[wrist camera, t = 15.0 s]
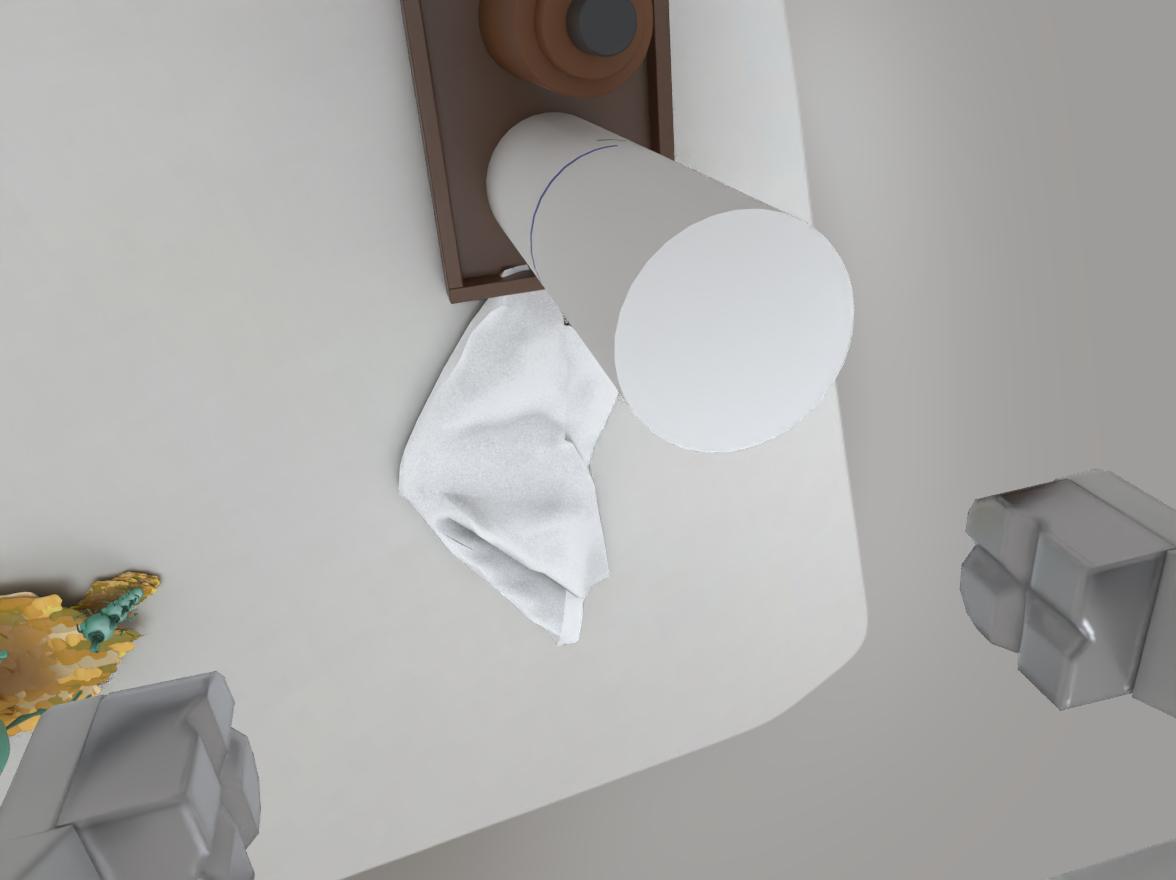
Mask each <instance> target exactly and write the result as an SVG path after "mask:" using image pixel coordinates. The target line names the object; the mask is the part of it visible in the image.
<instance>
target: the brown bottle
mask: <svg viewBox="0 0 1176 880" xmlns="http://www.w3.org/2000/svg"><path fill="white" fill-rule="evenodd" d="M478 17H479V27H480V33H481V36H482V39H483V42H484V44H485V47H486V49H487V50H488V52H489V54H490V55H491V57H492V58H493V59H494V61H495V62H496V63H497V64H498V65H499V66H500V67H501V68H502V69H504V70H505V71H506V72H508V73H510V74H511V75H513V76H515V77H518V78H520V79H523V80H525V81H528V82H530V83H533V84H535V85H538V86H540V87H543V88H546V89H548V90H551V91H553V92H556V93H558V94H561V95H563V96H567V97H571V98H579V99H587V98H595V97H599V96H602V95H605V94H608V93H610V92H612V91H614V90H616V89H617V88H619V87H620V86H622V85H623V84H624V83H625V82H626V81H628V80H629V79H630V78H631V77H632V75H633V74H634V73H635V72H636V71H637V69H638V68H639V66H640V65H641V63H642V61H643V59H644V57H645V55H646V53H647V50H648V48H649V45H650V41H651V37H652V30H653V7H652V1H651V0H480V4H479V15H478Z"/></svg>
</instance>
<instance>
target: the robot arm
mask: <svg viewBox="0 0 1176 880" xmlns="http://www.w3.org/2000/svg"><path fill="white" fill-rule="evenodd" d="M966 533H967V534H968V535H969V537H970V538H971V539H972V541H973V542H974V543H975V547H974V548H973V549H972V551H971V552H970V553H969V555H968V556H967V558H966V559H965V560H964V562H963V563H962V566H961V567H962V568H961V580H960V591H961V595H962V598H963V602H964V605H965V608H966V612H967V614H968V615H969V617H970V619H971V620H972V622H973V624H974V625H975V626H976V628H977V629H978V630H979V631H980V632H981V634H982V635H984V637H985V638H986V639H987V640H988V641H989V642H990V643H992V644H994V645H997V646H1000V647H1002V648H1005V649H1008V650H1010V651H1013V652H1015V653H1017V665H1018V670H1019V671H1020V672H1021V673H1022V674H1023V675H1024V676H1025V677H1026V678H1027V679H1028V680H1029V681H1030V682H1031V683H1032V684H1033V685H1034V686H1035V687H1036V688H1038V690H1040V692H1041V693H1043V694H1044V695H1045V696H1046V697H1047V698H1048V699H1049V700H1050V701H1051V702H1052V703H1053V704H1054V705H1055V706H1056V707H1057V708H1058V709H1059V710H1060V711H1061V710H1065V709H1069V708H1073V707H1077V706H1082V705H1086V704H1090V703H1093V702H1098V701H1102V700H1106V699H1110V698H1114V697H1118V696H1122V695H1126V694H1130V693H1133V694H1132V697H1133V698H1135V699H1137V700H1139V701H1141V702H1144V703H1145V704H1147V705H1150V706H1152V707H1154V708H1156V709H1158V710H1160V711H1162V712H1164V713H1167V714H1168V715H1170V716H1173V717H1175V718H1176V510H1175V509H1173V508H1171V507H1169V506H1168V505H1166V504H1164V503H1163V502H1161V501H1159V500H1158V499H1156V498H1154V497H1153V496H1151V495H1149V494H1148V493H1146V492H1144V491H1143V490H1141V489H1139V488H1138V487H1136V486H1134V485H1132V484H1131V483H1129V482H1127V481H1125V480H1124V479H1122V478H1121V477H1119V476H1117V475H1116V474H1114V473H1112V472H1110V471H1104V470H1099V469H1093V470H1089V471H1085V472H1081V473H1077V474H1073V475H1069V476H1066V477H1062V478H1058V479H1055V480H1054V481H1052V482H1048V483H1043V484H1039V485H1035V486H1031V487H1026V488H1022V489H1018V490H1014V491H1009V492H1005V493H1001V494H996V495H992V496H988V497H983V498H979V499H975V501H974V503H973V505H972V507H971V508H970V510H969V512H968V517H967V525H966ZM234 704H235V702H234V699H233V697H232V694H231V692H230V690H229V687H228V685H227V682H226V680H225V677H224V676H223V675H221V674H220V673H218V672H217V671H214V672H209V673H204V674H199V675H194V676H189V677H185V678H180V679H175V680H170V681H165V682H160V683H155V684H151V685H146V686H141V687H136V688H131V689H126V690H121V691H117V692H112V693H109V694H108V695H99V696H94V697H90V698H85V699H81V700H76V701H72V702H67V703H63V704H58V705H54V706H52V707H51V708H49V709H48V710H47V711H45V712H44V713H43V714H42V715H41V716H40V718H39V720H38V722H37V725H36V727H35V729H34V732H33V734H32V736H31V738H30V741H29V743H28V745H27V748H26V750H25V752H24V754H23V757H22V759H21V761H20V764H19V766H18V768H17V770H16V773H15V775H14V777H13V780H12V782H11V784H10V787H9V789H8V791H7V793H6V796H5V798H4V800H3V803H2V805H1V807H0V880H254V874H255V873H254V870H253V868H252V865H251V863H250V860H249V857H248V855H247V852H246V849H247V848H248V846H249V845H250V844H251V842H252V841H253V840H254V839H255V837H256V836H257V835H258V834H259V824H260V812H261V803H260V788H259V777H258V772H257V768H256V763H255V758H254V754H253V752H252V749H251V746H250V743H249V740H248V737H247V736H246V735H244V734H242V733H240V732H239V731H237V730H235V729H234V728H232V727H231V724H232V718H233V711H234ZM1045 880H1176V838H1175V839H1172V840H1169V841H1165V842H1162V843H1159V844H1156V845H1153V846H1150V847H1147V848H1143V849H1140V850H1137V851H1134V852H1131V853H1127V854H1124V855H1121V856H1118V857H1115V858H1112V859H1109V860H1105V861H1102V862H1099V863H1096V864H1093V865H1089V866H1087V867H1083V868H1080V869H1077V870H1074V871H1071V872H1068V873H1064V874H1061V875H1058V876H1055V877H1052V878H1049V879H1045Z"/></svg>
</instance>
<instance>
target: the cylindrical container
mask: <svg viewBox="0 0 1176 880" xmlns="http://www.w3.org/2000/svg"><path fill="white" fill-rule="evenodd" d="M486 189H487V197H488V201H489V205H490V208H491V210H492V213H493V215H494V217H495V219H496V220H497V222H498V223H499V225H500V226H501V228H502V229H503V230H504V232H505V233H506V235H507V236H508V237H509V239H510V240H511V242H512V243H513V244H514V246H515V247H516V249H517V250H518V251H519V253H520V254H521V256H522V257H523V258H524V260H525V261H526V263H527V264H528V265H529V267H530V268H531V270H532V271H533V272H534V274H535V275H536V277H537V278H538V279H539V281H540V282H541V284H542V285H543V286H544V288H545V289H546V291H547V292H548V293H549V295H550V296H551V298H552V299H553V300H554V302H555V303H556V305H557V306H558V307H559V309H560V310H561V312H562V313H563V314H564V316H565V317H566V319H567V320H568V321H569V323H570V324H571V325H572V327H573V328H574V330H575V331H576V332H577V334H578V335H579V337H580V338H581V339H582V341H583V342H584V344H585V345H586V346H587V348H588V349H589V351H590V352H591V353H592V355H593V356H594V358H595V359H596V360H597V362H598V363H599V365H600V366H601V367H602V369H603V370H604V372H605V373H606V374H607V376H608V377H609V379H610V380H611V382H612V383H613V384H614V386H615V387H616V389H617V390H618V391H619V393H620V394H621V396H622V397H623V398H624V400H625V401H626V403H627V404H628V405H629V407H630V408H631V410H632V411H633V412H634V414H635V415H636V417H637V418H638V419H639V420H640V421H641V422H642V423H643V424H644V425H645V426H646V427H647V428H648V429H650V430H651V431H652V432H653V433H654V434H655V435H657V436H659V437H660V438H662V439H664V440H666V441H668V442H669V443H671V444H673V445H675V446H679V447H682V448H686V449H689V450H692V451H696V452H709V453H723V452H732V451H740V450H743V449H747V448H750V447H754V446H757V445H760V444H762V443H765V442H767V441H769V440H771V439H773V438H775V437H777V436H779V435H781V434H782V433H784V432H785V431H787V430H788V429H790V428H791V427H793V426H794V425H796V424H797V423H798V422H800V421H801V420H802V419H803V418H804V417H805V416H806V415H807V414H808V413H809V412H810V411H811V410H812V409H813V408H814V407H816V406H817V404H818V403H819V402H820V400H821V399H822V398H823V396H824V395H825V394H826V393H827V391H828V390H829V389H830V387H831V386H832V384H833V382H834V381H835V379H836V377H837V375H838V373H839V371H840V369H841V367H842V365H843V363H844V361H845V357H846V354H847V351H848V348H849V345H850V342H851V338H852V331H853V323H854V297H853V292H852V288H851V283H850V279H849V275H848V273H847V270H846V268H845V266H844V264H843V262H842V260H841V258H840V255H839V254H838V253H837V251H836V250H835V249H834V248H833V246H832V245H831V244H830V243H829V241H828V240H827V239H826V238H825V236H823V235H822V234H821V233H819V232H818V231H817V230H816V229H814V228H813V227H812V226H810V225H809V224H808V223H806V222H804V221H802V220H800V219H798V218H796V217H794V216H791V215H789V214H787V213H785V212H783V211H781V210H779V209H776V208H774V207H772V206H770V205H768V204H766V203H763V202H761V201H759V200H757V199H755V198H753V197H751V196H748V195H746V194H744V193H742V192H740V191H738V190H735V189H733V188H731V187H729V186H727V185H725V184H723V183H720V182H718V181H716V180H714V179H712V178H710V177H707V176H705V175H703V174H701V173H699V172H697V171H695V170H692V169H690V168H688V167H686V166H684V165H682V164H679V163H677V162H675V161H673V160H671V159H669V158H667V157H664V156H662V155H660V154H658V153H656V152H654V151H652V150H649V149H647V148H645V147H643V146H641V145H639V144H636V143H634V142H632V141H630V140H628V139H625V138H623V137H621V136H619V135H617V134H614V133H612V132H610V131H608V130H606V129H604V128H601V127H599V126H597V125H595V124H593V123H590V122H588V121H586V120H584V119H581V118H579V117H577V116H575V115H572V114H566V113H561V112H546V113H542V114H537V115H533V116H531V117H529V118H527V119H524V120H522V121H521V122H519V123H518V124H516V125H515V126H514V127H512V128H511V129H510V130H509V131H508V132H507V133H506V134H505V135H504V136H503V137H502V138H501V140H500V141H499V143H498V145H497V146H496V148H495V150H494V151H493V154H492V156H491V159H490V162H489V165H488V170H487V177H486Z"/></svg>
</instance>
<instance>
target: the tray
mask: <svg viewBox="0 0 1176 880" xmlns="http://www.w3.org/2000/svg"><path fill="white" fill-rule="evenodd" d="M651 1H652V7H653V30H652V37H651V41H650V45H649V48H648V50H647V53H646V55H645V57H644V59H643V61H642V63H641V65H640V66H639V68H638V69H637V71H636V72H635V73H634V74H633V75H632V77H631V78H630V79H629V80H628V81H626V82H625V83H624V84H623V85H622V86H620V87H619V88H617V89H616V90H614V91H612V92H610V93H608V94H605V95H602V96H599V97H595V98H587V99H579V98H571V97H567V96H563V95H561V94H558V93H556V92H553V91H551V90H548V89H546V88H543V87H540V86H538V85H535V84H533V83H530V82H528V81H525V80H523V79H520V78H518V77H515V76H513V75H511V74H510V73H508V72H506V71H505V70H504V69H502V68H501V67H500V66H499V65H498V64H497V63H496V62H495V61H494V59H493V58H492V57H491V55H490V54H489V52H488V50H487V49H486V47H485V44H484V42H483V39H482V36H481V33H480V27H479V17H478V15H479V4H480V0H400V4H401V10H402V16H403V23H404V29H405V35H406V41H407V47H408V54H409V60H410V66H411V72H412V79H413V85H414V91H415V97H416V104H417V110H418V116H419V122H420V128H421V135H422V141H423V147H424V153H425V160H426V166H427V172H428V178H429V184H430V191H431V197H432V203H433V209H434V216H435V222H436V228H437V234H438V240H439V247H440V253H441V259H442V265H443V272H444V278H445V284H446V290H447V294H448V297H449V300H450V303H451V304H454V303H460V302H467V301H473V300H480V299H486V298H493V297H499V296H506V295H512V294H519V293H525V292H532V291H538V290H545V288H544V286H543V285H542V284H541V282H540V281H539V279H538V278H537V277H536V275H535V274H534V272H533V271H532V270H531V268H530V267H529V265H528V264H527V263H526V261H525V260H524V258H523V257H522V256H521V254H520V253H519V251H518V250H517V249H516V247H515V246H514V244H513V243H512V242H511V240H510V239H509V237H508V236H507V235H506V233H505V232H504V230H503V229H502V228H501V226H500V225H499V223H498V222H497V220H496V219H495V217H494V215H493V213H492V210H491V208H490V205H489V201H488V197H487V189H486V177H487V170H488V165H489V162H490V159H491V156H492V154H493V151H494V150H495V148H496V146H497V145H498V143H499V141H500V140H501V138H502V137H503V136H504V135H505V134H506V133H507V132H508V131H509V130H510V129H511V128H512V127H514V126H515V125H516V124H518V123H519V122H521V121H522V120H524V119H527V118H529V117H531V116H533V115H537V114H542V113H546V112H561V113H566V114H572V115H575V116H577V117H579V118H581V119H584V120H586V121H588V122H590V123H593V124H595V125H597V126H599V127H601V128H604V129H606V130H608V131H610V132H612V133H614V134H617V135H619V136H621V137H623V138H625V139H628V140H630V141H632V142H634V143H636V144H639V145H641V146H643V147H645V148H647V149H649V150H652V151H654V152H656V153H658V154H660V155H662V156H664V157H667V158H669V159H671V160H673V161H674V135H673V108H672V81H671V54H670V27H669V0H651ZM526 264H527V265H528V268H529V270H524V271H519V272H517V273H514V274H511V275H509V276H506V277H501V276H500V274H501V273H502V272H503V271H504V270H507V269H510V268H513V267H516V266H521V265H526Z"/></svg>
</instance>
